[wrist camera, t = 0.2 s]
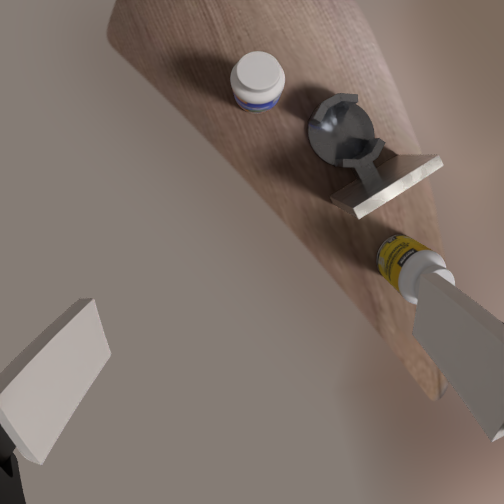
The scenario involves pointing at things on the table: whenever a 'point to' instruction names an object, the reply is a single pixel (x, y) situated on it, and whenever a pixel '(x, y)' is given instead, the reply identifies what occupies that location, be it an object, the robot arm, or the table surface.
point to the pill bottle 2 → (409, 265)
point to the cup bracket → (362, 156)
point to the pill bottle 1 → (257, 82)
